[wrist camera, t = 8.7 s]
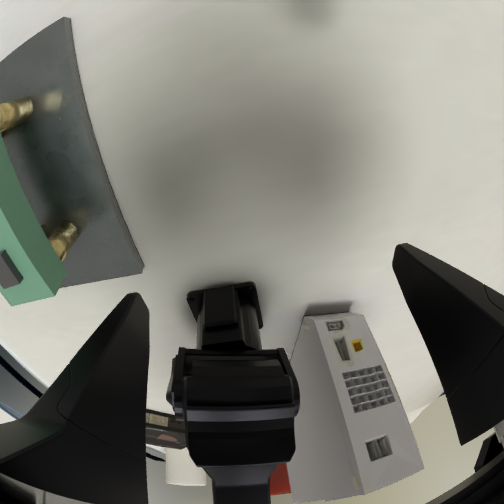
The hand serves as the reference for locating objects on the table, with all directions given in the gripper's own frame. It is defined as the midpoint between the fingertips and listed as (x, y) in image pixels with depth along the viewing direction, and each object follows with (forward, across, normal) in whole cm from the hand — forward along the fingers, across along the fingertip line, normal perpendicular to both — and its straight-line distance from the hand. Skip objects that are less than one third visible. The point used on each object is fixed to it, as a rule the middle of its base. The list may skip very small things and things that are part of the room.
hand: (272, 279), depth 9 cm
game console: (+12, -4, +29) cm, 32 cm away
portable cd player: (+13, +27, +48) cm, 57 cm away
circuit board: (+7, +17, -4) cm, 19 cm away
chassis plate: (+12, +17, -4) cm, 21 cm away
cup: (+12, +31, +76) cm, 83 cm away
